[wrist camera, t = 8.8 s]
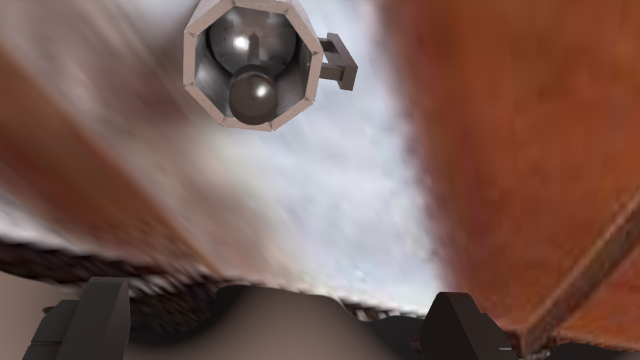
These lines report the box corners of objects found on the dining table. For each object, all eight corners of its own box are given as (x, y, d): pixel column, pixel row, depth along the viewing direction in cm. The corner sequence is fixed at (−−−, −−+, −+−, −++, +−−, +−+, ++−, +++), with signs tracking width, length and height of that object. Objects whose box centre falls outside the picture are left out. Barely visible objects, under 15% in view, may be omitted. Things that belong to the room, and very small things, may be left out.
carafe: (205, -40, 40) (184, -16, 28) (340, -15, 42) (373, 17, 31) (201, 64, 45) (182, 121, 33) (322, 81, 47) (343, 139, 36)
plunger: (213, -15, 36) (190, 31, 23) (301, 0, 38) (324, 51, 25) (209, 71, 40) (187, 150, 27) (288, 82, 42) (303, 162, 29)
